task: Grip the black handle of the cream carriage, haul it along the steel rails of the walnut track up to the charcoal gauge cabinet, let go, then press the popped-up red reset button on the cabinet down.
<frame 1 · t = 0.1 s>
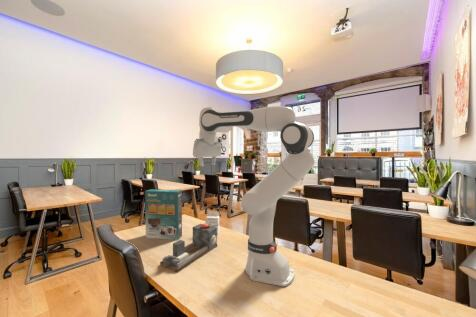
hand: (207, 165, 115), 48 cm above the table, fingers open, 8 cm apart
reset button: (204, 225, 126), point 12 cm above the table, slide at 0.0 cm
ink cartridge box: (212, 233, 146), on the table
carriage: (178, 250, 108), point 6 cm above the table, slide at 0.0 cm
track: (189, 255, 115), on the table
cake mix box: (164, 237, 141), on the table
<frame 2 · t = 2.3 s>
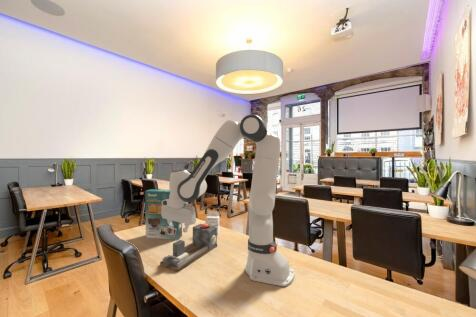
hand: (178, 230, 108), 16 cm above the table, fingers open, 8 cm apart
nothing on the table moved.
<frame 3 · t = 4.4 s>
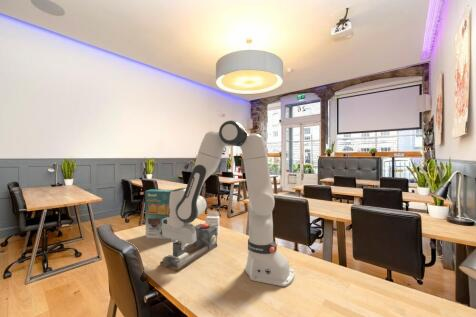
hand: (178, 248, 108), 7 cm above the table, fingers closed on carriage, 3 cm apart
carriage: (178, 250, 108), point 6 cm above the table, slide at 0.0 cm, touching gripper
everything else where it was.
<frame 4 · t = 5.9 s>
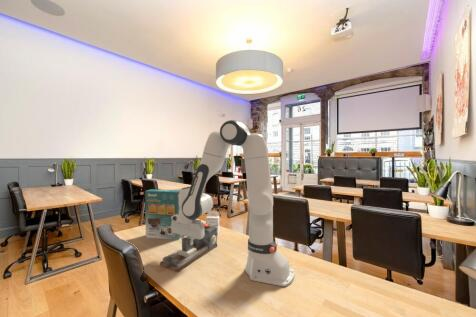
hand: (187, 243, 114), 7 cm above the table, fingers closed on carriage, 3 cm apart
carriage: (187, 245, 114), point 6 cm above the table, slide at 6.2 cm, touching gripper
everything else where it was.
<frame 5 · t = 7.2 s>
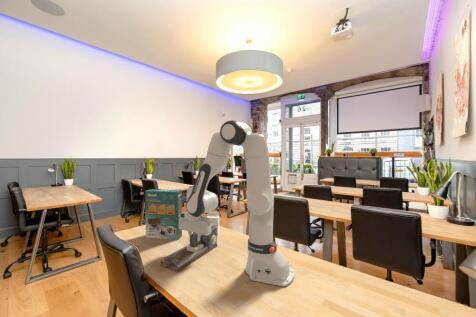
hand: (194, 239, 119), 7 cm above the table, fingers closed on carriage, 3 cm apart
carriage: (194, 241, 119), point 6 cm above the table, slide at 11.9 cm, touching gripper
everything else where it was.
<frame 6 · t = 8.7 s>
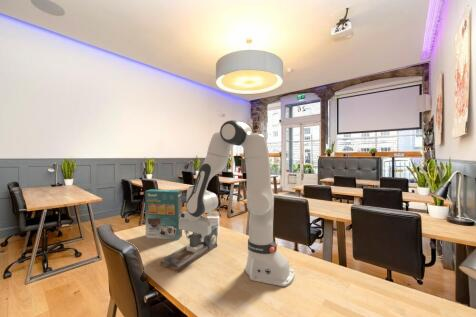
hand: (194, 239, 119), 7 cm above the table, fingers open, 8 cm apart
carriage: (194, 241, 119), point 6 cm above the table, slide at 11.9 cm
everything else where it was.
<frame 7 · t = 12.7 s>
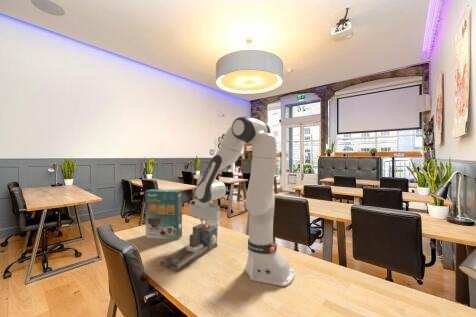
hand: (204, 225, 126), 12 cm above the table, fingers closed, pressing on reset button
reset button: (204, 227, 126), point 11 cm above the table, slide at 0.8 cm, touching gripper
everything else where it was.
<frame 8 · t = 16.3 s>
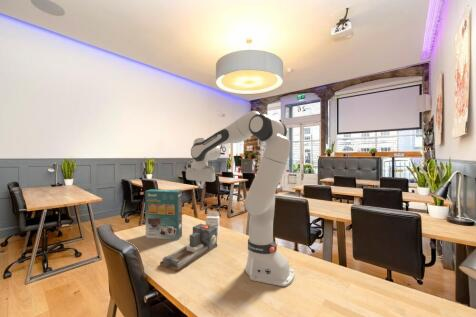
hand: (200, 188, 131), 33 cm above the table, fingers closed
reset button: (204, 228, 126), point 11 cm above the table, slide at 1.3 cm
everything else where it was.
at the end: carriage slide at 11.9 cm; reset button slide at 1.3 cm; the gripper is holding nothing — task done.
